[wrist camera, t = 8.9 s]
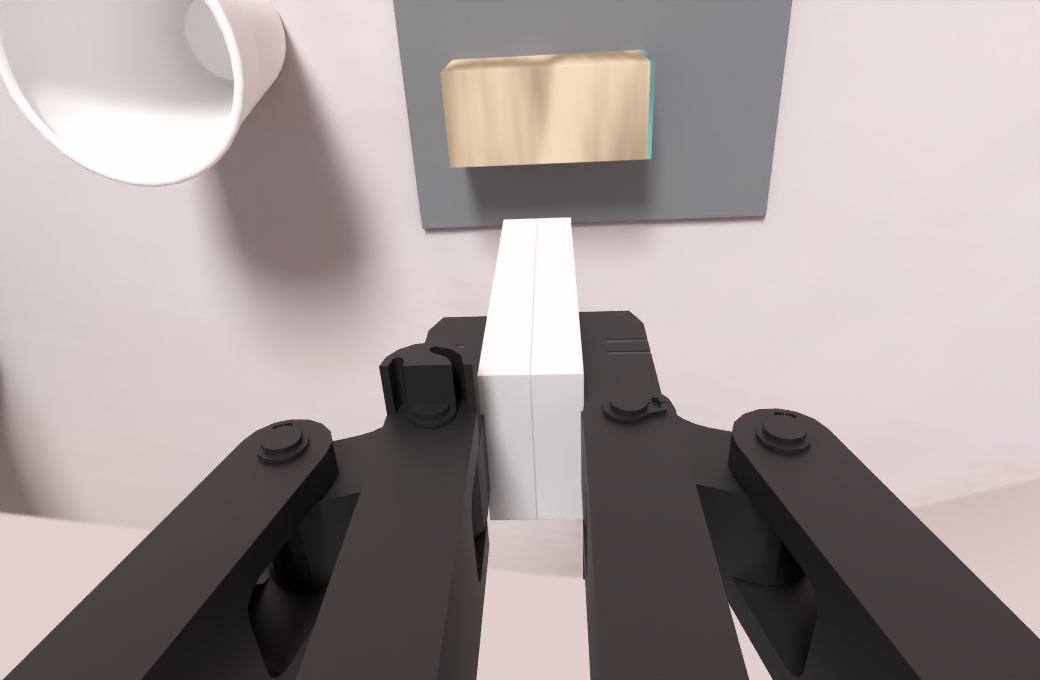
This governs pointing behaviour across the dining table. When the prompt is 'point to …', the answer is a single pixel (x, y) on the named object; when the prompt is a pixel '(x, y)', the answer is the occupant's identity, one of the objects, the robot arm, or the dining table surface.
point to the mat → (676, 107)
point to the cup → (140, 79)
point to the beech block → (549, 108)
